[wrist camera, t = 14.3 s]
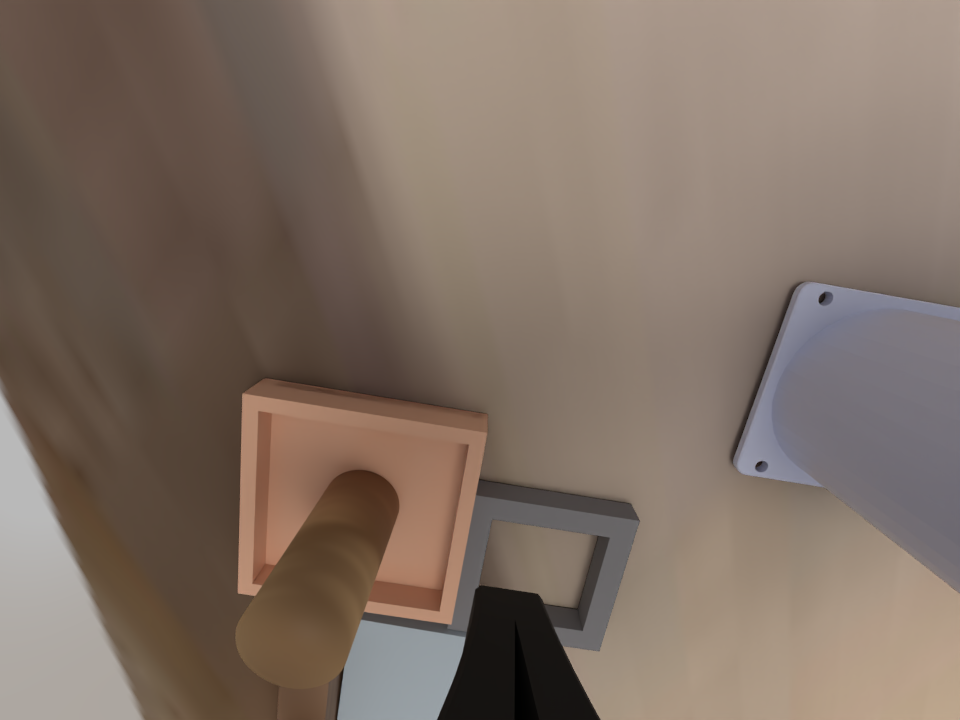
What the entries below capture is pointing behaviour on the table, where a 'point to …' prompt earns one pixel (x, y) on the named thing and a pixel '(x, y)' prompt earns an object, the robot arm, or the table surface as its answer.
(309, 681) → the dowel
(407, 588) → the tray
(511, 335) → the table surface
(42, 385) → the table surface
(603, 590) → the socket
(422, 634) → the plate
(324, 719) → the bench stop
